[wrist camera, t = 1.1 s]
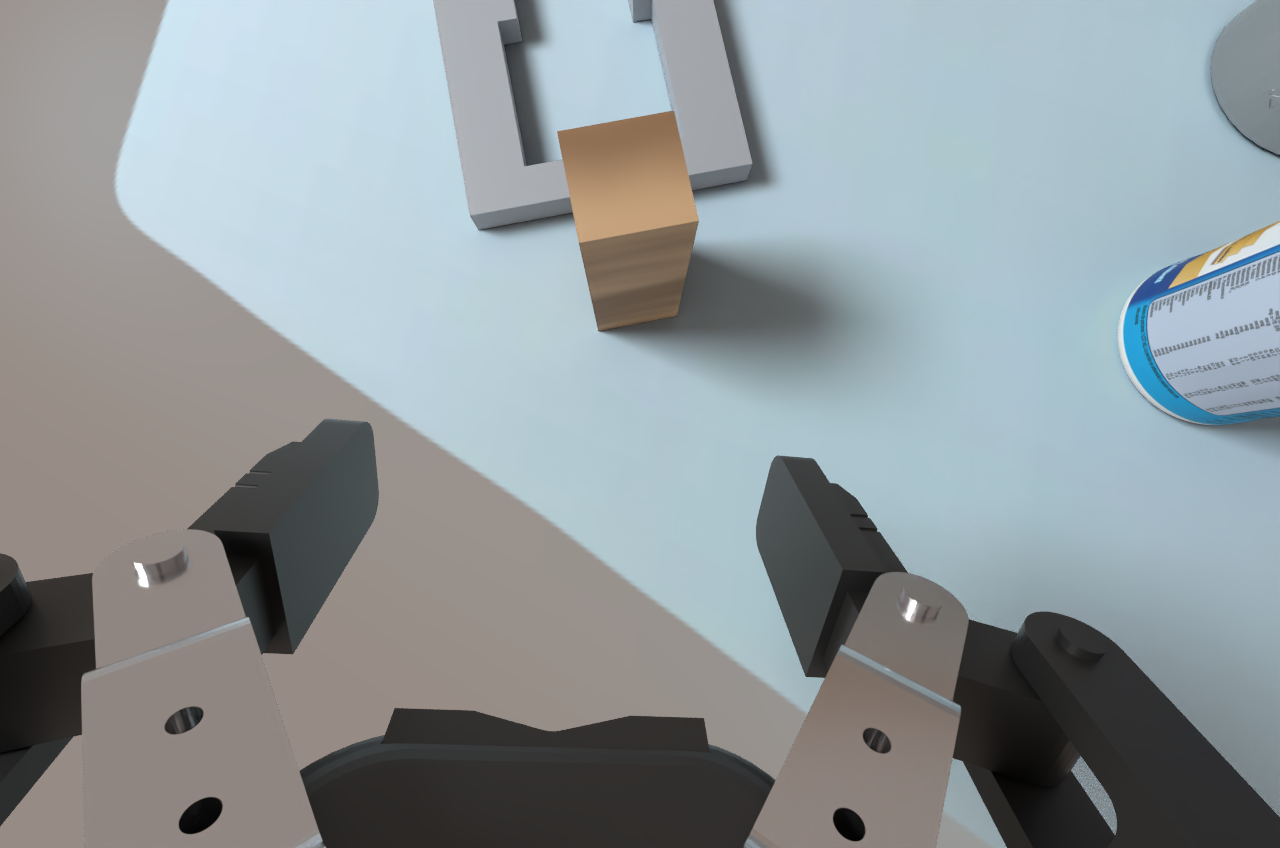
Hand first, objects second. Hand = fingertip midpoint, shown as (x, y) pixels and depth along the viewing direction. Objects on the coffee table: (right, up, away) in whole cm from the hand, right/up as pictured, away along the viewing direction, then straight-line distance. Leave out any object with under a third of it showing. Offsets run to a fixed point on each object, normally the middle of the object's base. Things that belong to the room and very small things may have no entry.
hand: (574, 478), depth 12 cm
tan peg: (+1, +8, +17) cm, 19 cm away
